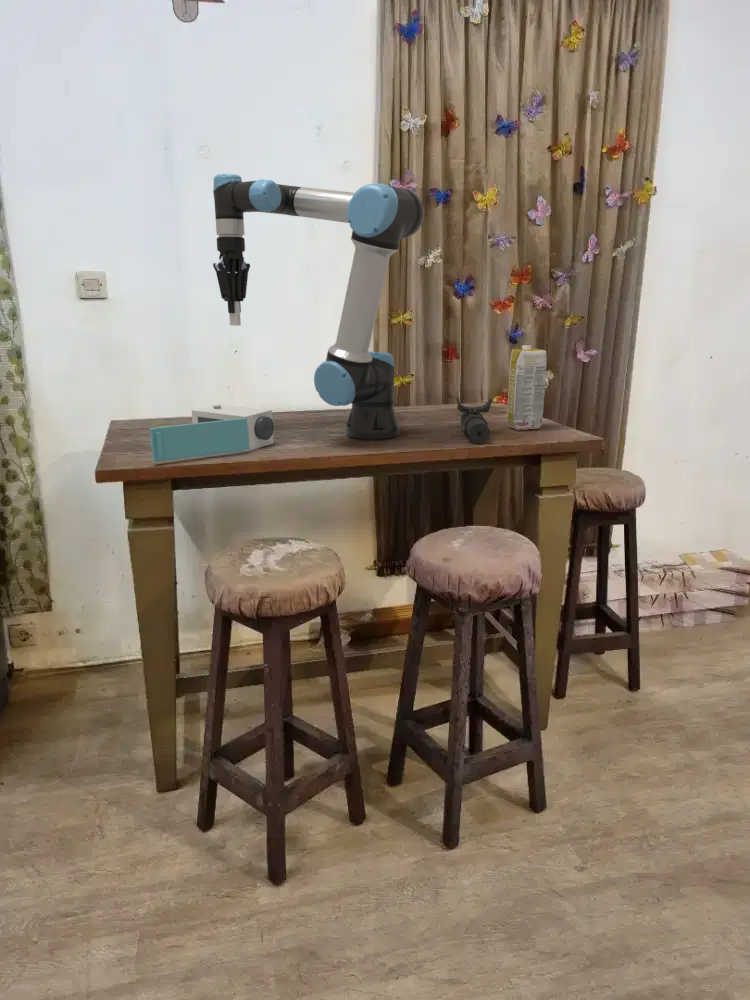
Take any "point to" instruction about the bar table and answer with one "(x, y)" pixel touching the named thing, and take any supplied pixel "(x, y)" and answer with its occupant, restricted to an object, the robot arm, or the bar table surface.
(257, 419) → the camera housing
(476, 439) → the laser sight
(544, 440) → the bar table surface
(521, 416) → the juice carton
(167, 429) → the side door
